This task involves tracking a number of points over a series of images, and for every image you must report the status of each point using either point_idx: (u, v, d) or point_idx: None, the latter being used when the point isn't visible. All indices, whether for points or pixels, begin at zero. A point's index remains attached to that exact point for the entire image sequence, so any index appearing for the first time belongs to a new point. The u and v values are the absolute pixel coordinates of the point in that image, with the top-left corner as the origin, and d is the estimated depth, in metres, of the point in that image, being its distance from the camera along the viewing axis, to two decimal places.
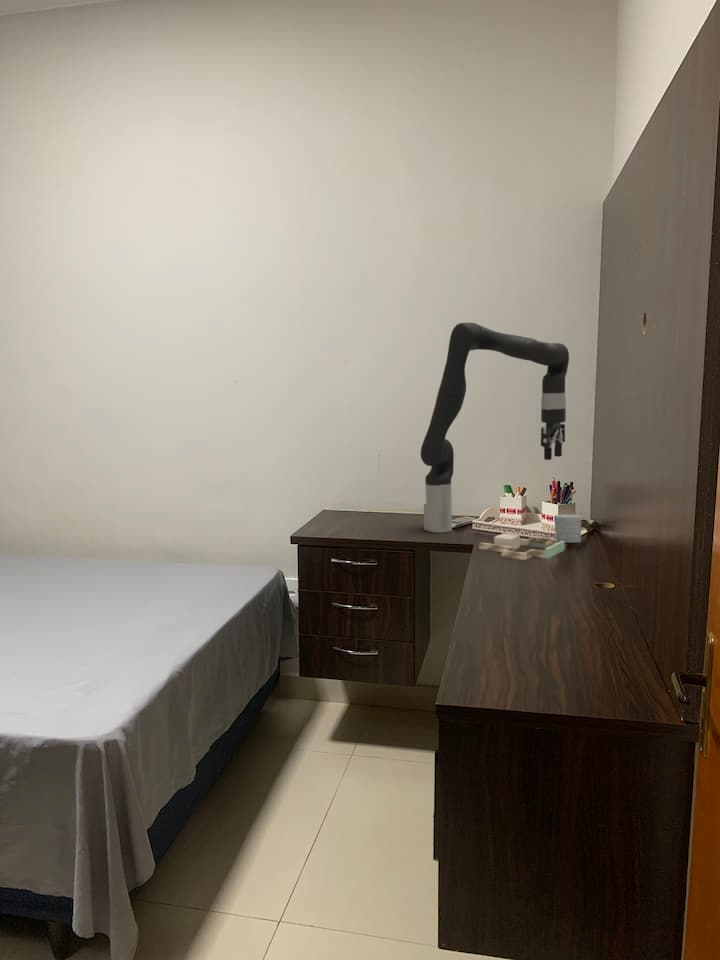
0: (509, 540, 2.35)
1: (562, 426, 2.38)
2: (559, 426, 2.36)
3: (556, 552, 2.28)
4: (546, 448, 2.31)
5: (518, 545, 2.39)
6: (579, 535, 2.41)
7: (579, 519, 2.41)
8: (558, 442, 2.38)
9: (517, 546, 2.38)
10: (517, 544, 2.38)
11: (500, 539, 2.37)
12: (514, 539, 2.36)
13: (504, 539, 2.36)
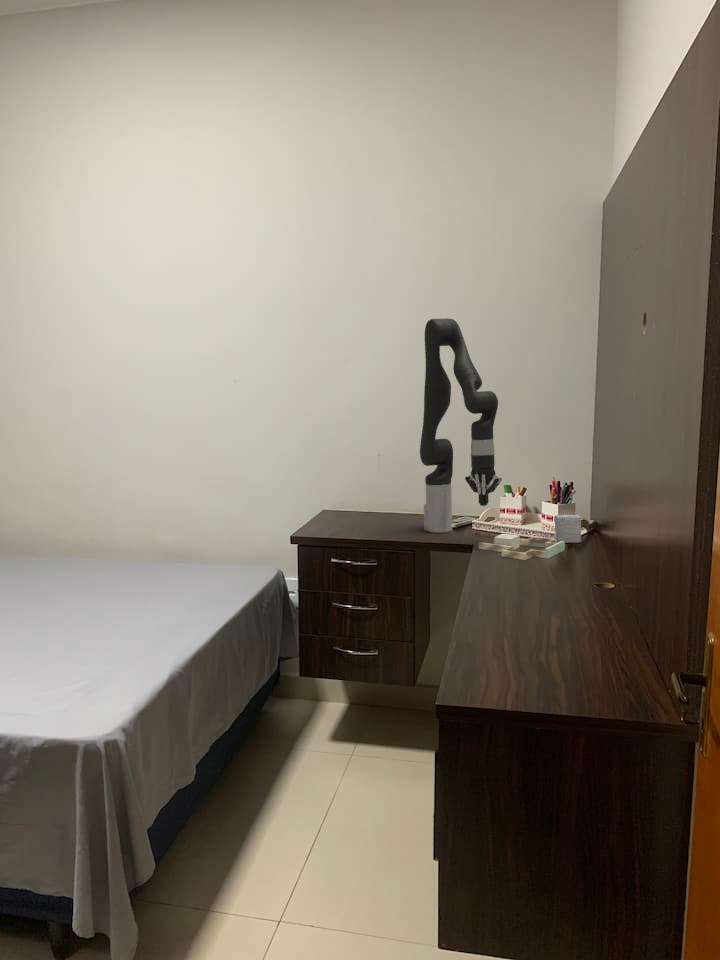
0: (509, 540, 2.35)
1: None
2: None
3: (556, 552, 2.28)
4: (487, 494, 2.41)
5: (518, 545, 2.39)
6: (579, 535, 2.41)
7: (579, 519, 2.41)
8: None
9: (517, 546, 2.38)
10: (517, 544, 2.38)
11: (500, 539, 2.37)
12: (514, 539, 2.36)
13: (504, 539, 2.36)
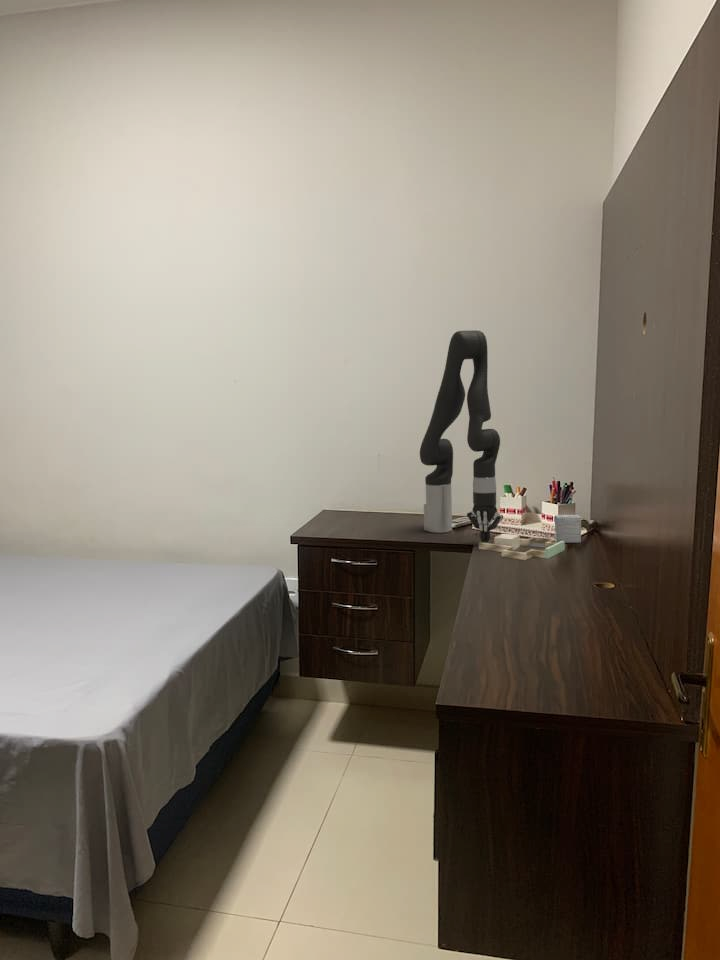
0: (510, 540, 2.35)
1: None
2: None
3: (556, 552, 2.28)
4: (489, 531, 2.42)
5: (518, 545, 2.39)
6: (579, 535, 2.41)
7: (579, 519, 2.41)
8: (483, 527, 2.44)
9: (517, 546, 2.38)
10: (517, 544, 2.39)
11: (500, 539, 2.37)
12: (514, 539, 2.36)
13: (505, 539, 2.36)
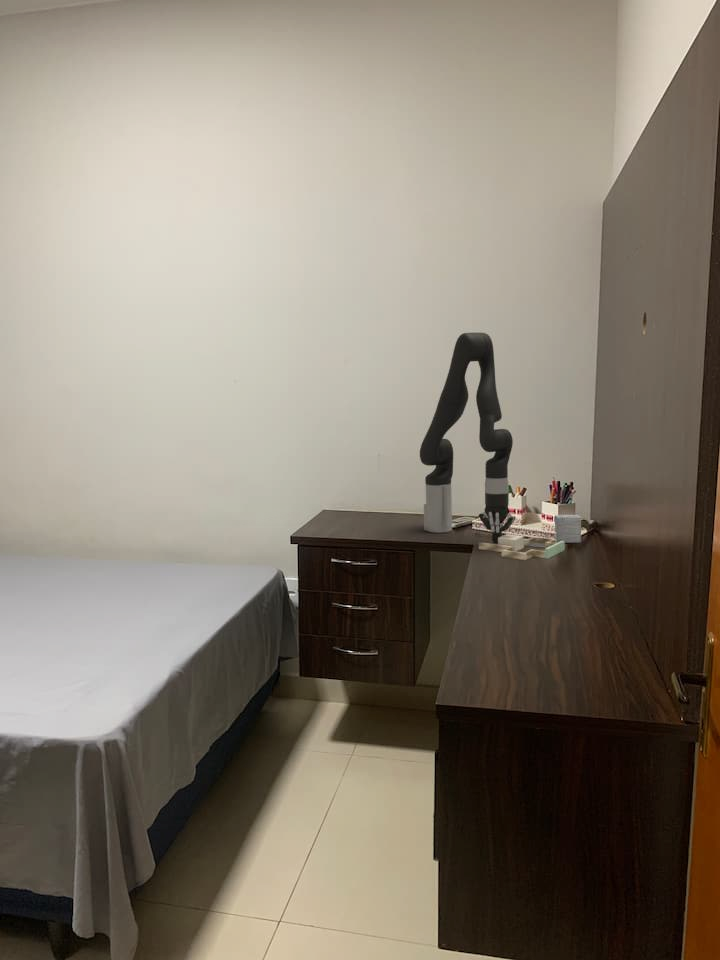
0: (513, 541, 2.33)
1: None
2: None
3: (556, 552, 2.28)
4: (501, 532, 2.40)
5: (522, 546, 2.37)
6: (579, 535, 2.41)
7: (579, 519, 2.41)
8: (495, 528, 2.41)
9: (521, 547, 2.37)
10: (521, 545, 2.37)
11: (504, 540, 2.35)
12: (518, 540, 2.35)
13: (508, 540, 2.35)
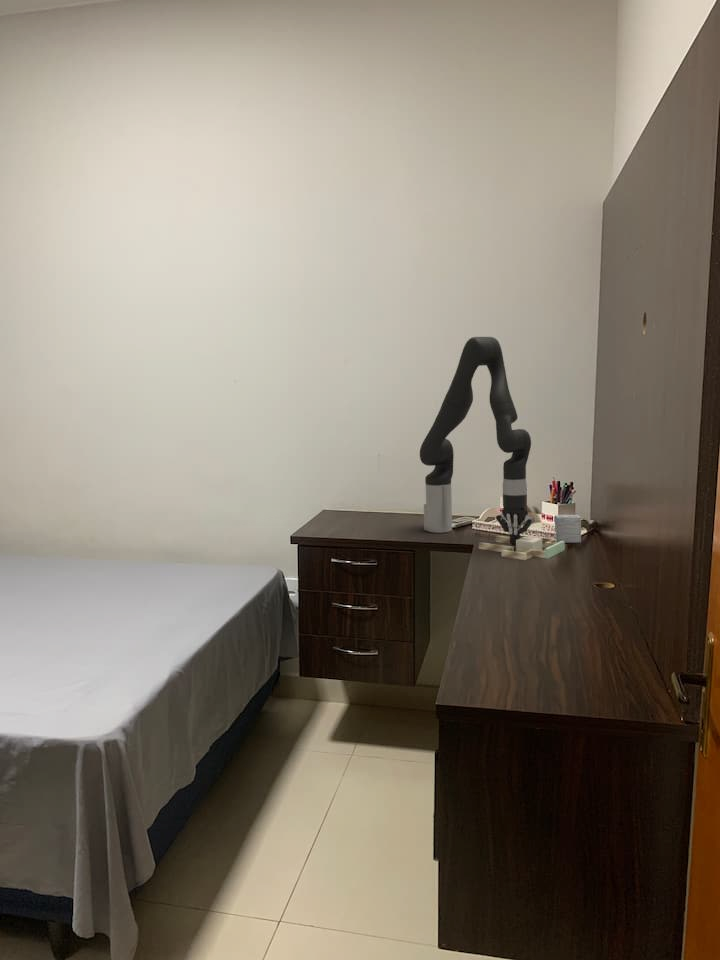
0: (531, 543, 2.29)
1: None
2: None
3: (556, 552, 2.28)
4: (519, 534, 2.36)
5: (540, 548, 2.33)
6: (579, 535, 2.41)
7: (579, 519, 2.41)
8: (513, 530, 2.37)
9: (539, 549, 2.33)
10: (540, 547, 2.33)
11: (522, 542, 2.31)
12: (536, 542, 2.31)
13: (526, 542, 2.30)
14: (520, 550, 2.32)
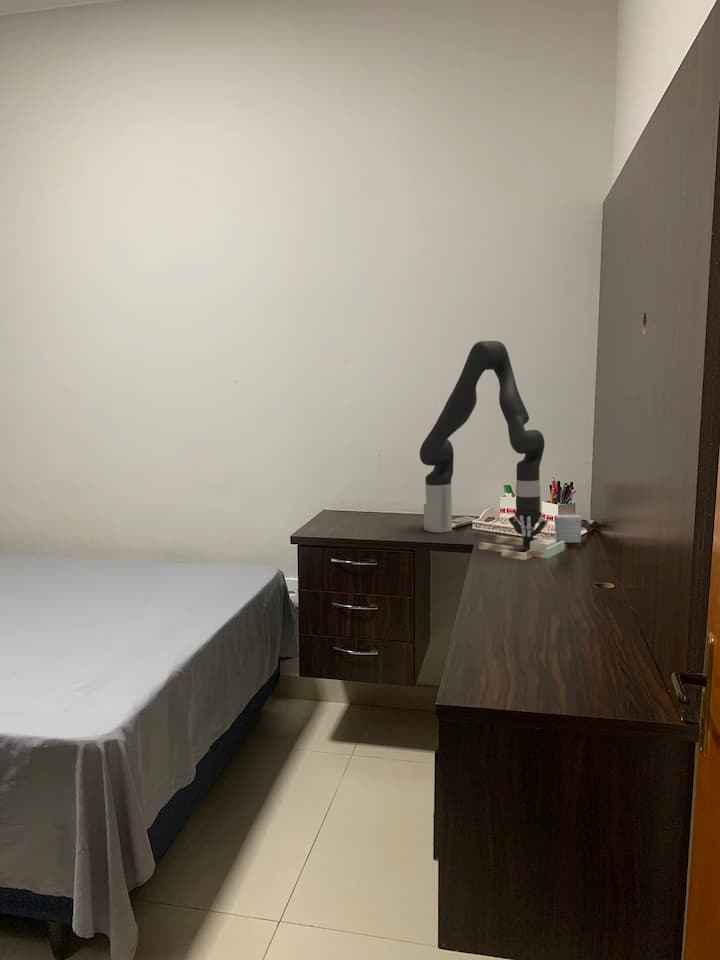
0: (546, 545, 2.27)
1: None
2: None
3: (556, 552, 2.28)
4: (532, 536, 2.33)
5: None
6: (579, 535, 2.41)
7: (579, 519, 2.41)
8: (526, 532, 2.34)
9: None
10: None
11: (536, 544, 2.29)
12: (551, 544, 2.28)
13: (540, 544, 2.28)
14: None
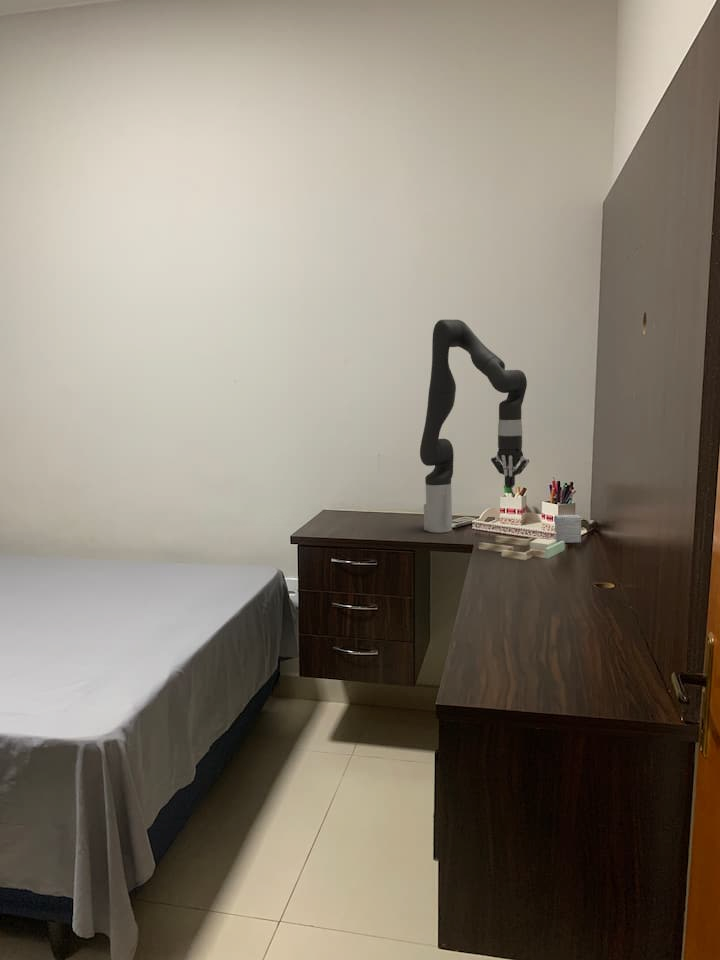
0: (546, 545, 2.27)
1: None
2: None
3: (556, 552, 2.28)
4: (514, 476, 2.35)
5: None
6: (579, 535, 2.41)
7: (579, 519, 2.41)
8: (508, 472, 2.36)
9: None
10: None
11: (536, 544, 2.28)
12: (551, 544, 2.28)
13: (541, 544, 2.28)
14: None
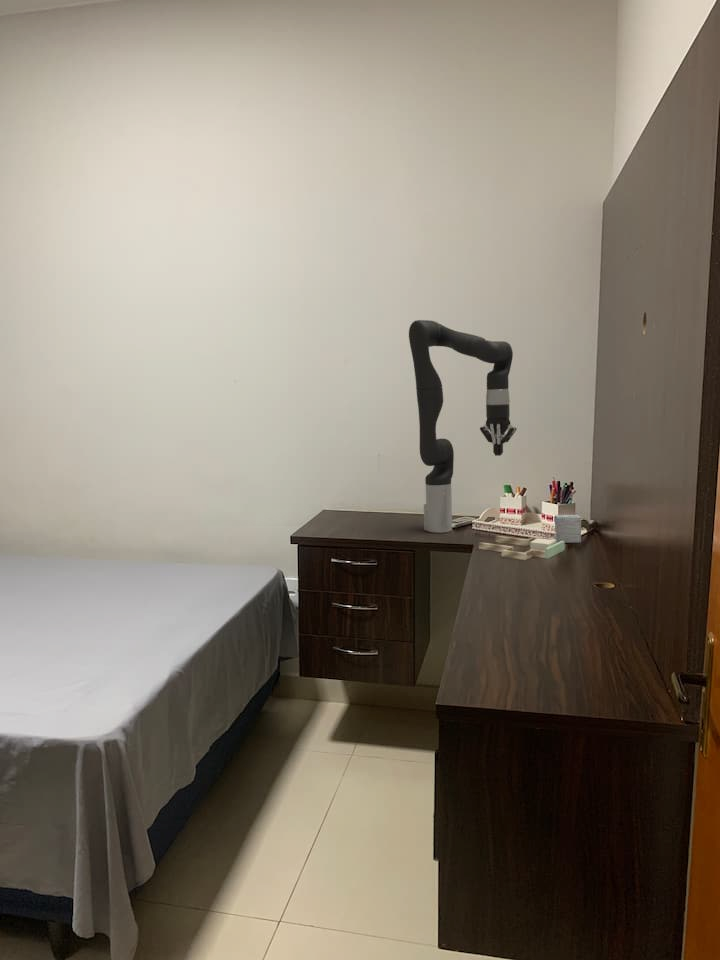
0: (547, 545, 2.27)
1: None
2: None
3: (556, 552, 2.28)
4: (502, 444, 2.43)
5: None
6: (579, 535, 2.41)
7: (579, 519, 2.41)
8: (496, 440, 2.45)
9: None
10: None
11: (537, 544, 2.28)
12: (551, 544, 2.28)
13: (541, 544, 2.28)
14: None
